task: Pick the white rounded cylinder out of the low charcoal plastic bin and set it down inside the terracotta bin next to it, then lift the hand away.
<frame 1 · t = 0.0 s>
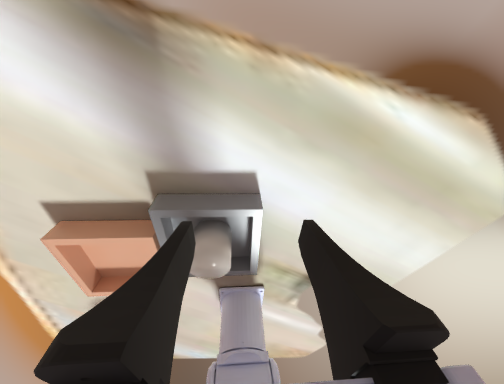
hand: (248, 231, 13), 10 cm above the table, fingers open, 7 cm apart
white rounded cylinder: (213, 233, 26), point 1 cm above the table, touching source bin
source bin: (213, 230, 26), on the table
dump bin: (127, 251, 28), on the table
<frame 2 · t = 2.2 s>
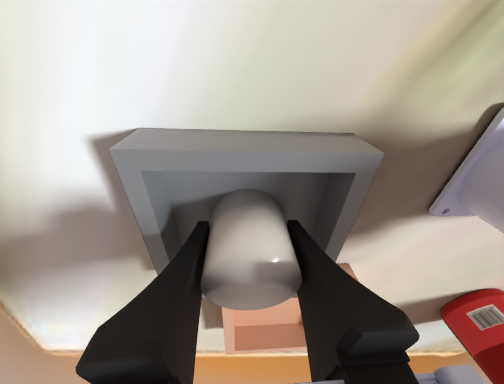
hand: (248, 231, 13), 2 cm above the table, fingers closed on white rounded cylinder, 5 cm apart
canned food: (468, 302, 26), on the table
white rounded cylinder: (247, 218, 14), point 1 cm above the table, touching gripper, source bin
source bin: (247, 212, 14), on the table
dump bin: (279, 298, 21), on the table
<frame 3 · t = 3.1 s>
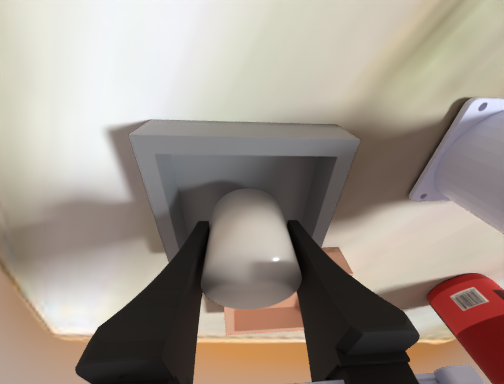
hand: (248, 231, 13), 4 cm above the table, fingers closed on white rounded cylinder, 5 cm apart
canned food: (453, 287, 27), on the table
white rounded cylinder: (247, 217, 14), point 2 cm above the table, touching gripper
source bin: (245, 197, 16), on the table
dump bin: (276, 282, 23), on the table
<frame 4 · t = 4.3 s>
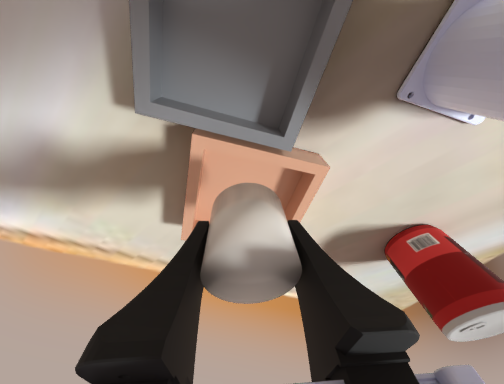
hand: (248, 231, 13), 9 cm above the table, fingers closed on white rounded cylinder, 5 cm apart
canned food: (408, 241, 29), on the table
white rounded cylinder: (247, 213, 14), point 7 cm above the table, touching gripper
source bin: (237, 42, 14), on the table
dump bin: (246, 190, 22), on the table
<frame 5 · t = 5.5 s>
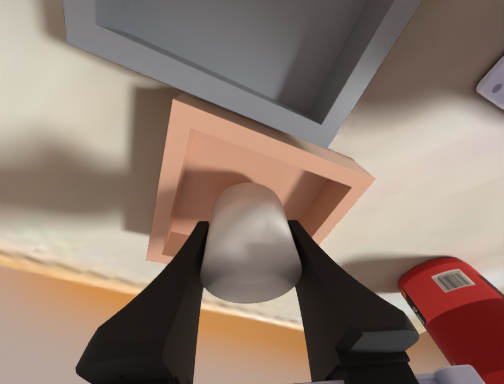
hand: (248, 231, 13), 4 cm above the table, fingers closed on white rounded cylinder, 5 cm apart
canned food: (427, 273, 24), on the table
white rounded cylinder: (247, 213, 14), point 2 cm above the table, touching gripper
dump bin: (246, 198, 16), on the table
when the fingers open (3 cm above the table, at t = 6.5 s): white rounded cylinder drops 1 cm, resting on dump bin.
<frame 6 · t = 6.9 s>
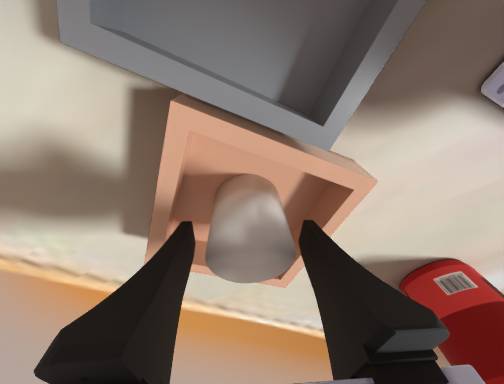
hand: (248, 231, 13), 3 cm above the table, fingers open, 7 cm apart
canned food: (429, 276, 24), on the table
white rounded cylinder: (247, 202, 15), point 1 cm above the table, touching dump bin
dump bin: (246, 200, 15), on the table
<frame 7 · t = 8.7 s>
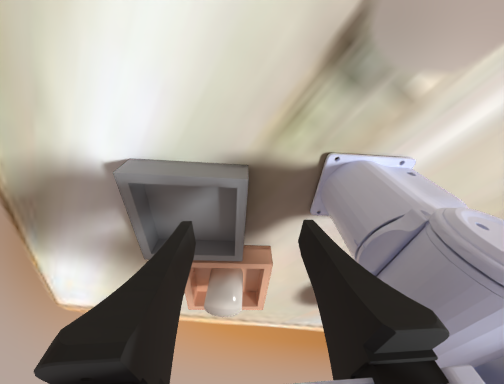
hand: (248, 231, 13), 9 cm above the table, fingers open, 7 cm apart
white rounded cylinder: (227, 273, 30), point 1 cm above the table, touching dump bin
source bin: (195, 207, 23), on the table
dump bin: (227, 270, 30), on the table
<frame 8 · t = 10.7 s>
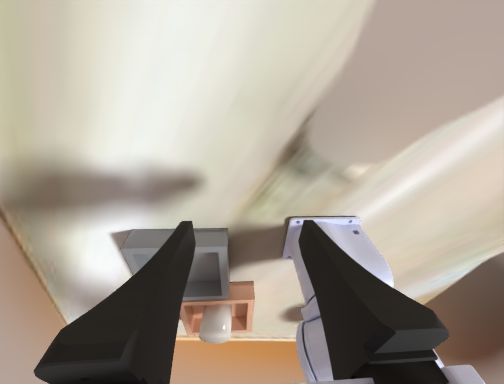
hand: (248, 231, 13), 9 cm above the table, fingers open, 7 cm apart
white rounded cylinder: (218, 304, 35), point 1 cm above the table, touching dump bin
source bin: (187, 258, 28), on the table
dump bin: (219, 301, 35), on the table
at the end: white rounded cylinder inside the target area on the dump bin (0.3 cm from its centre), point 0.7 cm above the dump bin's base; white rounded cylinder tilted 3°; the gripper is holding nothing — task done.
